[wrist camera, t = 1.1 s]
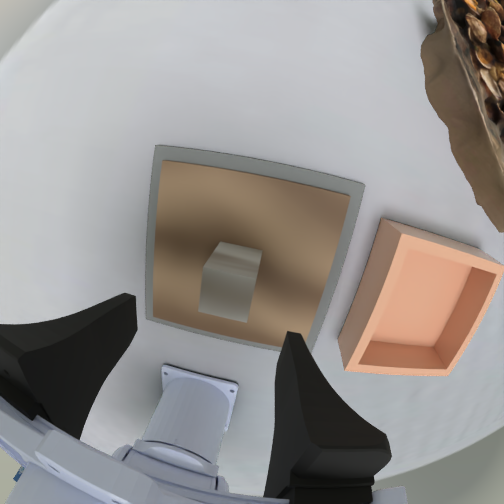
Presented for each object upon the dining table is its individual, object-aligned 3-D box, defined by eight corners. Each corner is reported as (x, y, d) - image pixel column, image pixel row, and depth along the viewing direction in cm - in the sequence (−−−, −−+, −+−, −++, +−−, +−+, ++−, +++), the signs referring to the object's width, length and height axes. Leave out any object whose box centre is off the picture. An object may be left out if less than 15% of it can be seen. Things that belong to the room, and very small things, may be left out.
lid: (301, 346, 23) (303, 389, 18) (155, 313, 23) (130, 348, 18) (348, 195, 18) (370, 210, 13) (165, 160, 18) (129, 164, 14)
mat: (309, 352, 23) (309, 356, 23) (148, 316, 24) (145, 319, 24) (363, 183, 18) (365, 184, 18) (158, 145, 19) (155, 145, 18)
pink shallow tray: (433, 350, 22) (447, 375, 18) (337, 339, 23) (344, 370, 19) (480, 249, 18) (505, 266, 14) (381, 217, 19) (401, 233, 15)
